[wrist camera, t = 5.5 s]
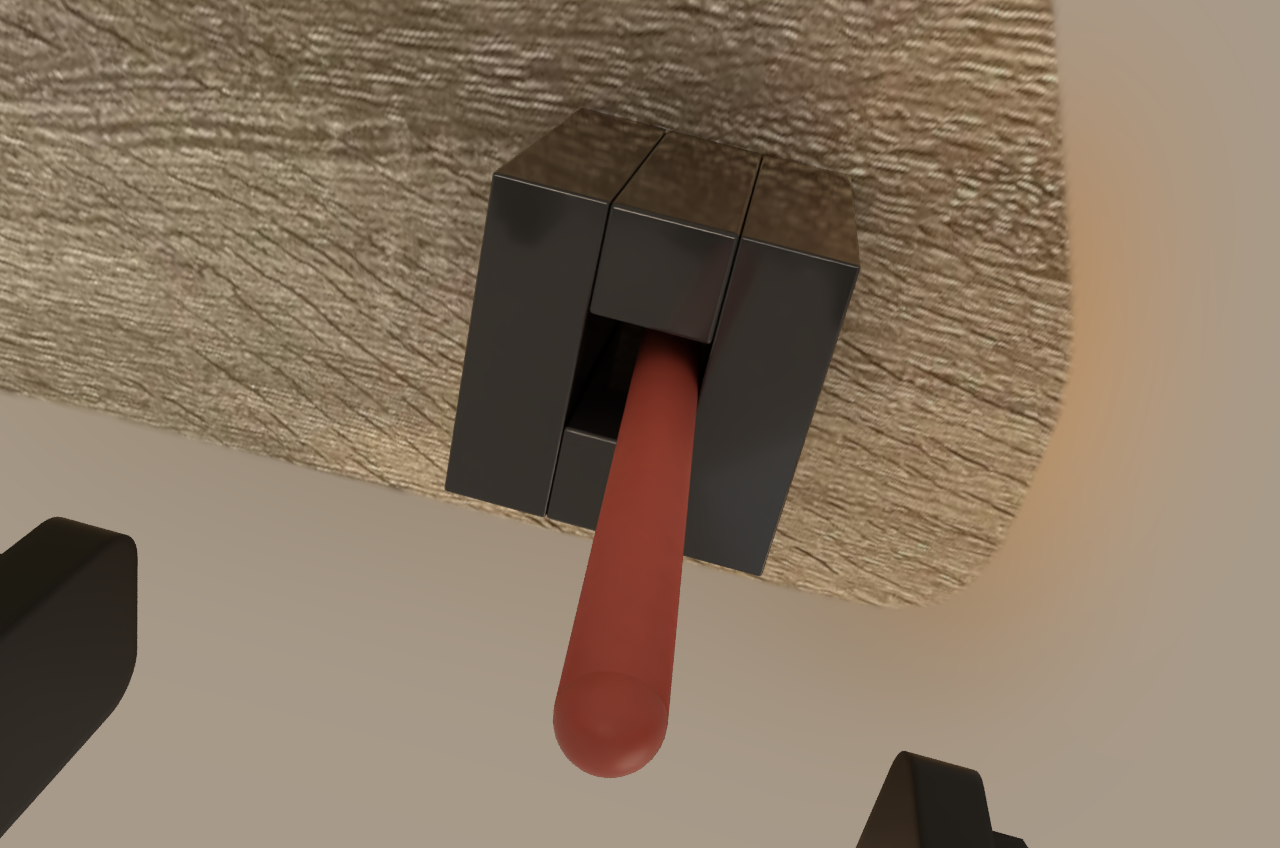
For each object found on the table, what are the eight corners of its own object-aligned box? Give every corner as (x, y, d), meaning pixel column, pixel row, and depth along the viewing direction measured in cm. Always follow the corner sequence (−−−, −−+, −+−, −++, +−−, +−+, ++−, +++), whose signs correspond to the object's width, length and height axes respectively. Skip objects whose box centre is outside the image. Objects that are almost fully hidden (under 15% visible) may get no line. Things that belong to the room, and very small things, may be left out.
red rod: (714, 254, 25) (676, 725, 10) (702, 301, 25) (649, 815, 11) (663, 242, 25) (555, 698, 10) (652, 290, 25) (534, 788, 11)
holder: (851, 175, 24) (861, 266, 17) (776, 422, 26) (761, 577, 20) (580, 107, 24) (492, 171, 18) (533, 357, 27) (442, 491, 20)
